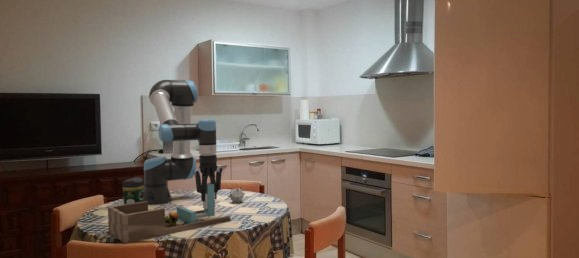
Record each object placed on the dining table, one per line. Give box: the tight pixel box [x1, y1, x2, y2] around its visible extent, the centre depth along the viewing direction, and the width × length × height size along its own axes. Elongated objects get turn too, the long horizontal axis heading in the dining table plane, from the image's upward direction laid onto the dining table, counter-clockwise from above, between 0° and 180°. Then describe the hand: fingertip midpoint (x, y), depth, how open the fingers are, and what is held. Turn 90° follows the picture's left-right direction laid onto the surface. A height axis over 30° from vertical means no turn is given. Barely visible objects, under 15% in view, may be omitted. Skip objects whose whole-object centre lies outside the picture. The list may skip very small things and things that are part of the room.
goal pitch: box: [107, 201, 231, 244], centre depth 171 cm, size 19×44×10 cm, turn 130°
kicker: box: [176, 182, 216, 224], centre depth 179 cm, size 14×14×15 cm
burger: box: [165, 210, 186, 228], centre depth 171 cm, size 12×12×8 cm
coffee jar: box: [122, 176, 145, 205], centre depth 183 cm, size 10×8×19 cm
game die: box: [227, 186, 246, 204], centre depth 215 cm, size 9×8×10 cm
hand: (209, 207), depth 182 cm, fingers closed on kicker, 3 cm apart
